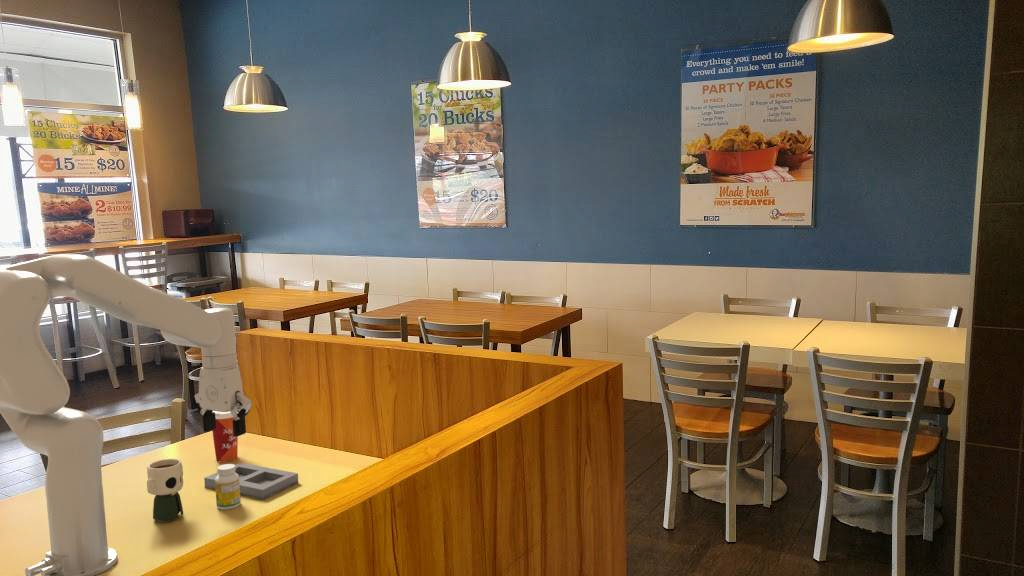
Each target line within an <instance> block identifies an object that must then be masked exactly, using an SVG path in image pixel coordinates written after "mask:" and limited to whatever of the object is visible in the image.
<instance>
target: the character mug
mask: <svg viewBox="0 0 1024 576" xmlns="http://www.w3.org/2000/svg"><path fill="white" fill-rule="evenodd" d="M183 468H184V467H183V464H182V460H181V459H178V458H166V459H165V458H163V459H159V460H156V461H152V462H150V463H149V464H147V465H146V470H147V471H146V473H147V480H146V490H147V493H148V494H150V495H153V496H154V498H153V505H152V506H153V508H152V519H153V521H159V522H164V523H165V522H171V521H175V520H177V519H179V515H180V517H182V516H183V515H184V508H183V504H182V499H181V495H180V493H179V492H180V491H182V489H183V487H184V478H183V476H184V469H183Z"/></svg>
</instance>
